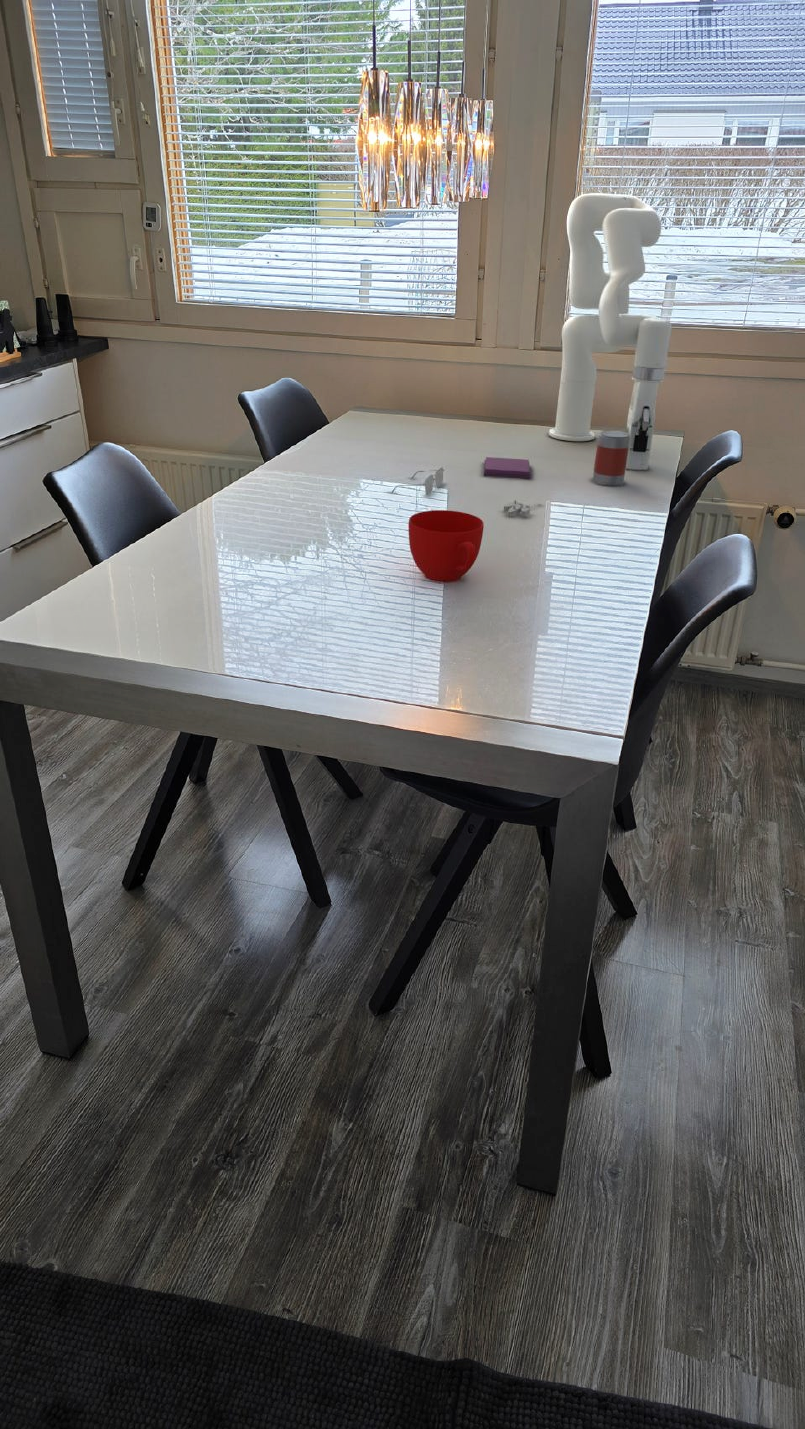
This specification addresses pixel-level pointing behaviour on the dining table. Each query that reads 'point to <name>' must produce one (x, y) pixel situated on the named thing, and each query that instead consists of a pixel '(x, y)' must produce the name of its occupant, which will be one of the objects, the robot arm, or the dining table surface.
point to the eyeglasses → (430, 481)
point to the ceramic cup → (444, 543)
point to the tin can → (611, 458)
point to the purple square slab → (507, 467)
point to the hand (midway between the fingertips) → (637, 447)
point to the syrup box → (634, 458)
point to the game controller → (517, 508)
